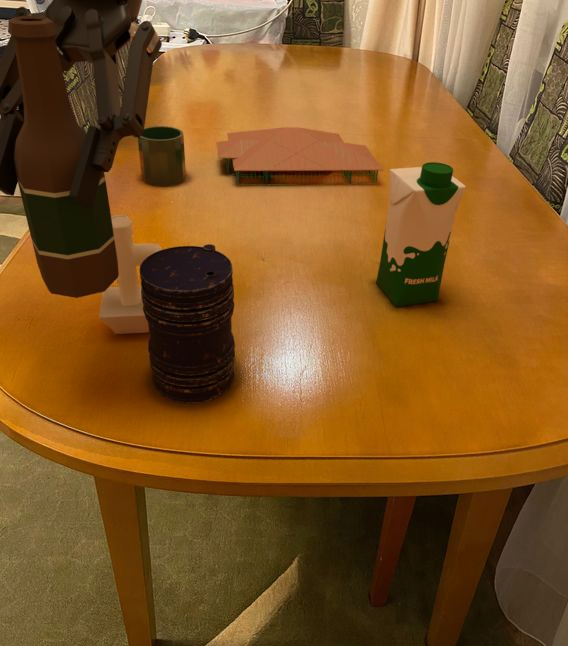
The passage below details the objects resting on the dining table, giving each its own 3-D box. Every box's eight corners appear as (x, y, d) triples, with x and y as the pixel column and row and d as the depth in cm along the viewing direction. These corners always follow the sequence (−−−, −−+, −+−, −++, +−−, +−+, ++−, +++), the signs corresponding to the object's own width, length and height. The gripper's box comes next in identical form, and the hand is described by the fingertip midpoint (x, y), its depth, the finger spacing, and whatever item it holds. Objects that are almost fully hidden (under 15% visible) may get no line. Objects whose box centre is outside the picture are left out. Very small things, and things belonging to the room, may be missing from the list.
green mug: (193, 181, 121) (191, 136, 115) (153, 189, 117) (148, 142, 111) (168, 163, 128) (164, 119, 123) (129, 170, 124) (123, 125, 118)
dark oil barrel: (134, 389, 70) (114, 250, 59) (179, 343, 78) (168, 213, 67) (210, 414, 68) (203, 273, 57) (249, 364, 75) (249, 232, 64)
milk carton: (392, 311, 87) (415, 176, 75) (367, 280, 94) (385, 151, 82) (446, 304, 89) (476, 172, 77) (418, 273, 96) (442, 148, 84)
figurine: (170, 337, 79) (160, 231, 70) (94, 341, 77) (74, 234, 68) (169, 307, 84) (160, 206, 75) (99, 310, 83) (81, 207, 74)
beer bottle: (87, 254, 67) (42, 7, 52) (136, 277, 64) (102, 20, 49) (24, 281, 62) (-45, 15, 47) (74, 308, 58) (15, 31, 44)
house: (215, 147, 138) (213, 110, 133) (355, 148, 143) (359, 112, 138) (220, 186, 120) (219, 145, 115) (381, 185, 125) (386, 145, 120)
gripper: (219, 6, 59) (161, 228, 56) (33, -14, 62) (-31, 196, 59) (194, -58, 51) (126, 195, 48) (-15, -76, 54) (-91, 160, 51)
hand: (40, 195), depth 54 cm, fingers closed on beer bottle, 7 cm apart
